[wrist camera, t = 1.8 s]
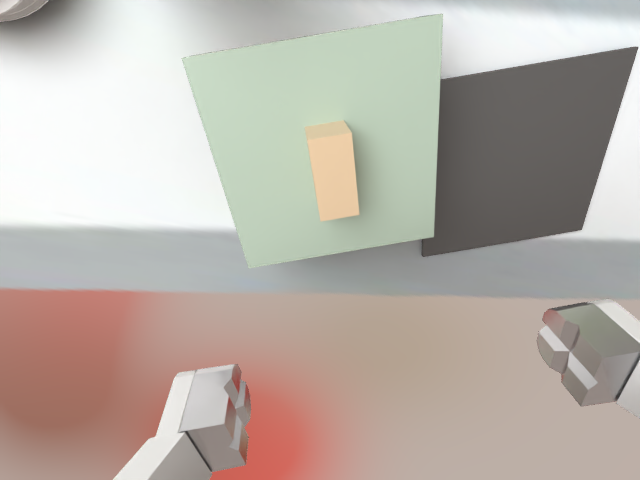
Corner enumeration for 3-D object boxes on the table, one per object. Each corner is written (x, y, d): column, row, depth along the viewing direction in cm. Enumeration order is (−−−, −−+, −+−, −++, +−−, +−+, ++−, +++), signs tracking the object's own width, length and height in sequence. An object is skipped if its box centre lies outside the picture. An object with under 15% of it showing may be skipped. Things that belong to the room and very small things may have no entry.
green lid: (427, 15, 20) (468, 10, 16) (423, 222, 28) (450, 259, 23) (191, 55, 20) (164, 62, 16) (251, 251, 28) (244, 294, 23)
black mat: (634, 46, 27) (638, 47, 27) (578, 228, 36) (581, 229, 36) (425, 82, 27) (426, 82, 27) (421, 254, 36) (422, 256, 36)
